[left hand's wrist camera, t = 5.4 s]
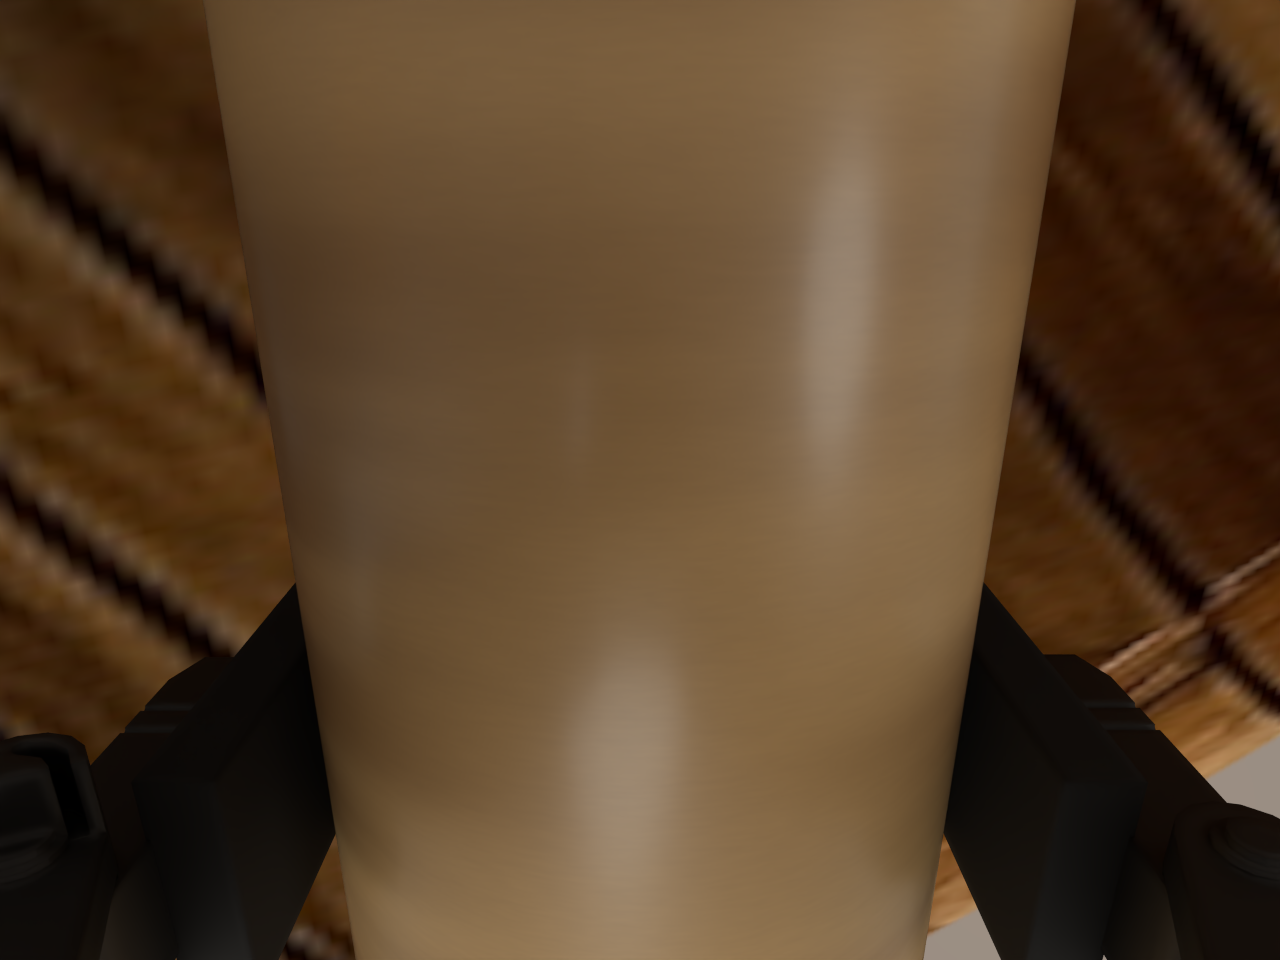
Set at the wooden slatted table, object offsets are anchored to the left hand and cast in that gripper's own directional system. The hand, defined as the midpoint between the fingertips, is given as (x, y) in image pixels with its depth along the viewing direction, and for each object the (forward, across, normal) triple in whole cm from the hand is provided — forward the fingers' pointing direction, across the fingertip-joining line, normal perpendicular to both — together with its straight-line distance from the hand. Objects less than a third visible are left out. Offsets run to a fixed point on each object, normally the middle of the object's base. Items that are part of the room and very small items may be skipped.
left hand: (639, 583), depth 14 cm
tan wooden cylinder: (0, 0, -7) cm, 7 cm away
